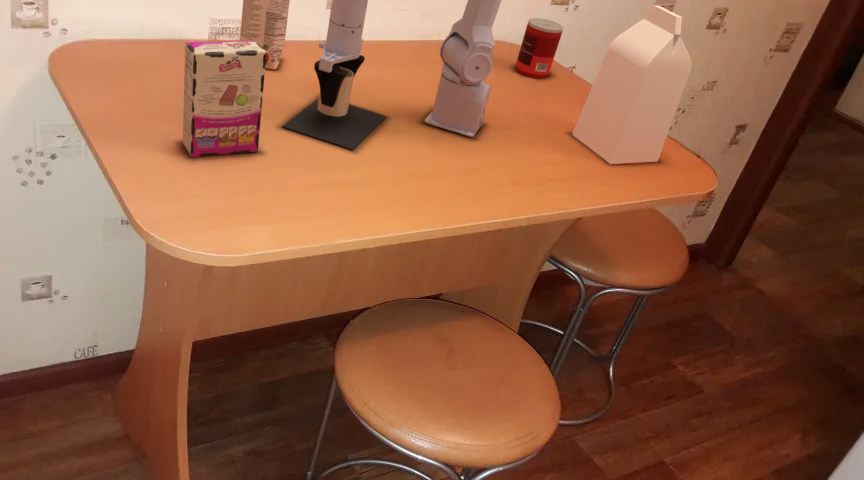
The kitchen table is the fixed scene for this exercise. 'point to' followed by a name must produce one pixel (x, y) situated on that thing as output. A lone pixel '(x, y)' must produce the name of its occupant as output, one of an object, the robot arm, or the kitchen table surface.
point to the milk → (636, 91)
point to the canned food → (538, 47)
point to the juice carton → (266, 27)
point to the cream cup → (339, 98)
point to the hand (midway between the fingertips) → (334, 99)
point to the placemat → (335, 125)
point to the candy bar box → (222, 97)
